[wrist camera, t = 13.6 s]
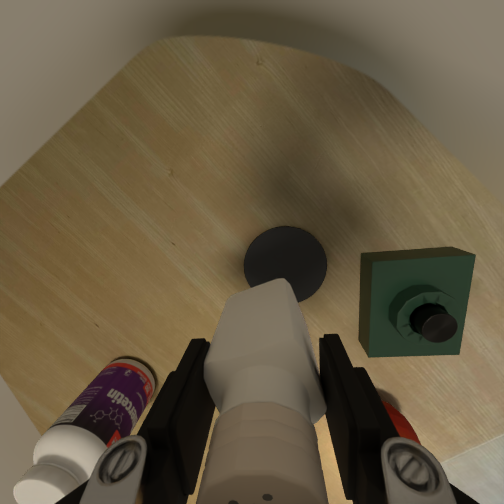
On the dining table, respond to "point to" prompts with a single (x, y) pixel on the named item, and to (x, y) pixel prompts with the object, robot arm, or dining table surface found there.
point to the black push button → (433, 323)
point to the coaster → (287, 260)
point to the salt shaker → (263, 403)
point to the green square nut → (411, 298)
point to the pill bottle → (86, 432)
